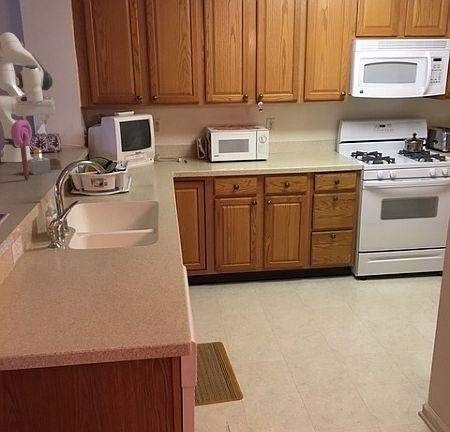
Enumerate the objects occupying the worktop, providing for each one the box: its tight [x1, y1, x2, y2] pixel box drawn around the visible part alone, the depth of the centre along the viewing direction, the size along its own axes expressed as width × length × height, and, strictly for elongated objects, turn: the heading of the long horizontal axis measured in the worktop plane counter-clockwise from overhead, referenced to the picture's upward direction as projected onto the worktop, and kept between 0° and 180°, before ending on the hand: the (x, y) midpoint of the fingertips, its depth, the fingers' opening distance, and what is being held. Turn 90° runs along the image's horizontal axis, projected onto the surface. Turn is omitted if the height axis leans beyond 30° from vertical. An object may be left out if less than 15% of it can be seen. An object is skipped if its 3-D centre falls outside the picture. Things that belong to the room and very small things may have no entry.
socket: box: [27, 157, 52, 175], centre depth 267 cm, size 9×9×7 cm
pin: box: [33, 149, 43, 161], centre depth 267 cm, size 4×4×12 cm
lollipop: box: [11, 119, 33, 181], centre depth 245 cm, size 13×8×30 cm, turn 167°
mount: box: [48, 158, 62, 171], centre depth 277 cm, size 7×7×5 cm
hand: (36, 124), depth 263 cm, fingers open, 8 cm apart
